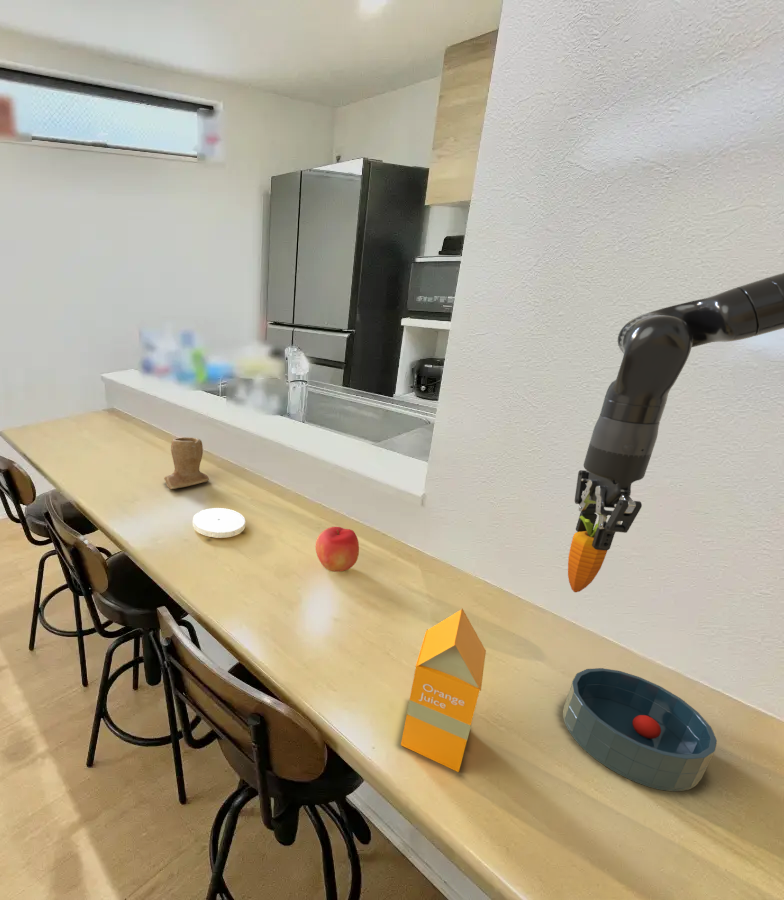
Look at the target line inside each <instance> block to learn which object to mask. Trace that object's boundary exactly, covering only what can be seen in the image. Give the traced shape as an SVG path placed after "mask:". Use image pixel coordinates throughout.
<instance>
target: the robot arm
mask: <svg viewBox="0 0 784 900" xmlns="http://www.w3.org/2000/svg"><path fill="white" fill-rule="evenodd" d="M782 329H784V272H782V273H777V274H774V275H771V276H769V277H765V278H762V279H759V280H755V281H753V282H749V283H746V284H742V285H739V286H736V287H733V288H730V289H728V290H724V291H723V292H720V293H717V294H713V295H711V296H708V297H704V298H699V299H694V300H691V301H687V302H682V303H679V304H675V305H674V304H673V305H671V306H670V305H669V306H666V307H663V308H659V309H655V310H652V311H649V312H646V313H643V314H641V315H637V316H636V317H634V318H632V319H631V320H629V321H628V322H626V324H624V325H623V327H622V328H621V329H620V331H619V332H618V335H617V341H616V342H617V346H618V348H619V350H620V351H621V353H622V354H623V357H622V360H621V364H620V366H619V369H618V372H617V376H616V378H615V379H614V380H613V381H611V382H610V384H609V386H608V387H607V389H606V393H605V396H604V398H603V403H602V405H601V409H600V413H599V415H598V419H597V421H596V423H595V425H594V427H593V430H592V432H591V433H592V434H591V437H590V441H589V444H588V446H587V447H588V448H587V451H586V453H585V458H584V461H583V468H584V469H580V470H579V471H578V472H577V473H578V474H577V480H576V487H575V494H574V504H576V505H578V511H579V512H580V513H579V517H580V516H583V517H584V518H585V519H589V520H590V522H591V523H592V524H593V529H594V527H595V525H596V522H597V523H598V527H597V530H596V533H595V536H594V540H593V543H592V546H593V547H594V548H595V549H596V550H607V551H609V550H610V549H611V548H612V547H611V546H612V544H613V540H614V537H615V535H616V533H623V534H625V533H626V534H627V533H628V532H629V529H630V528H631V526H632V525H633V523H634V521H635V520H636V518H637V516H638V515H639V512H640V511H641V509H642V506H643V504H642V502H641V501H639V500H633V499H632V498H631V494H632V484H633V483H635V482H638V481H640V480H643V478H645V475H646V472H647V470H648V465H649V463H650V460H651V457H652V454H653V452H654V448H655V445H656V442H657V440H658V434H659V428H660V422H661V420H662V417H663V414H664V411H665V408H666V405H667V402H668V398H669V397H668V396H669V393H670V391H671V389H672V388H673V386H674V384H675V383H676V381H677V380H678V378H679V376H680V374H681V373H682V370H683V368H684V367H685V366H686V363H687V361H688V359H689V357H690V354H691V350H692V349H693V348H695V347H699V346H703V345H707V344H711V343H719V342H720V343H721V342H722V343H723V342H725V343H727V342H735V341H740V340H746V339H750V338H753V337H757V336H760V335H764V334H768V333H772V332H776V331H778V330H782ZM605 508H609V509H613V510H609V509H605ZM608 516H609V517H608ZM579 517H578V519H577V523H576V527H575V531H576V532H582V531H587V530H586V527H585V525H584V523H583V521H582V520H581V519H580V518H579ZM597 519H598V520H599V521H597ZM606 519H607V520H606Z"/></svg>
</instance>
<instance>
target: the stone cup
mask: <svg viewBox="0 0 784 900" xmlns="http://www.w3.org/2000/svg"><path fill="white" fill-rule="evenodd" d="M170 452H171V458H172V461H173V466H174V471H173V473H171V474H168V475H165V476H163V477H164V478H163V480H164V481H165V484H166V486H167V487H168V489H169V490H174V489H175V490H176V489H181V488H186V487H190V486H191V487H192V486H195V485H198V484H202V483H206V482H208V481H210V477H209V476H208V475H207V474H205V473H203V472H201V470H200V466H201V462H202V459H203V455H204V447H203V442H202V440H201V439H200V438H198V437H190V436H189V437H188V436H187V437H185V436H184V437H177V438H173V439H172V441H171V445H170Z"/></svg>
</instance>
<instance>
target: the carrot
mask: <svg viewBox="0 0 784 900" xmlns="http://www.w3.org/2000/svg"><path fill="white" fill-rule="evenodd" d="M579 516H580V515H579ZM579 518H580V519H581V520H582V521H583V523H584V525H585V527H586V530H587V531H582V532H577V531H576V532H574V534H573V536H572V540H571V543H570V547H569V552H568V560H567V578H568V583H569V585H570V588H571V590H572V591H573V592H574V593H579V592H581V591H583V590H584V589H585V588H587V587H588V586H589V585H591V583H592V582H593V581H594V579H595V578H596V576H597V575H598V573H599V571H601V568H602V567H603V564H604V561H605V559H606V556H607V553H608V550H596V549H595V548H594V547H593V546H592V543H593V540H594V536H595V533H596V530H597V527H598V521H599V519H598V521H597V523H595V525H594V528H593V524H592V523H591V522H590V520H589V519H585V518H584V517H583V516H580V517H578V519H579ZM606 521H608V518H607V519H606Z"/></svg>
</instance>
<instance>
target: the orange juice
mask: <svg viewBox="0 0 784 900" xmlns="http://www.w3.org/2000/svg"><path fill="white" fill-rule="evenodd" d="M422 639H423V640H422V643H421V646H420V649H419V653H418V657H417V659H416V663H415V666H414V667H415V669H414V673H413V680H412V684H411V685H412V686H411V691H410V695H409V699H408V704H407V710H406V715H405V716H406V717H405V721H404V727H403V731H402V737H401V742H400V746H402V747H404V748H406V749H407V750H410V751H412V752H414V753H416V754H418V755H421V756H423V757H425V758H427V759H429V760H430V761H433V762H435V763H438V764H440V765H442V766H444V767H446V768H448V769H451V770H453V771H454V772H457V773H460V769H461V766H462V761H463V757H464V753H465V750H466V747H467V742H468V739H469V735H470V731H471V727H472V722H473V718H474V714H475V711H476V706H477V703H478V699H479V696H480V692H482V686H483V677H484V671H485V670H484V669H485V663H486V661H485V660H486V654H487V653H486V652H487V650H486V648H485V647H484V644H483V643H482V641H481V639H480V637H479V636H478V634H477V631H476V630H475V629H474V627H473V625H472V623H471V621H470V619H469V618H468V616H467V613H466V612H465V610H464V609H463V607H461V609H460V610H458V611H456V612H454V613H453V614H451V615H450V616H448V617H447V618H444V619H443V620H442V621H440V622H438V623H436V624H435V625H433V626H432V627H430V628H428V629H426V631H425V633H424V637H423V638H422Z"/></svg>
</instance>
